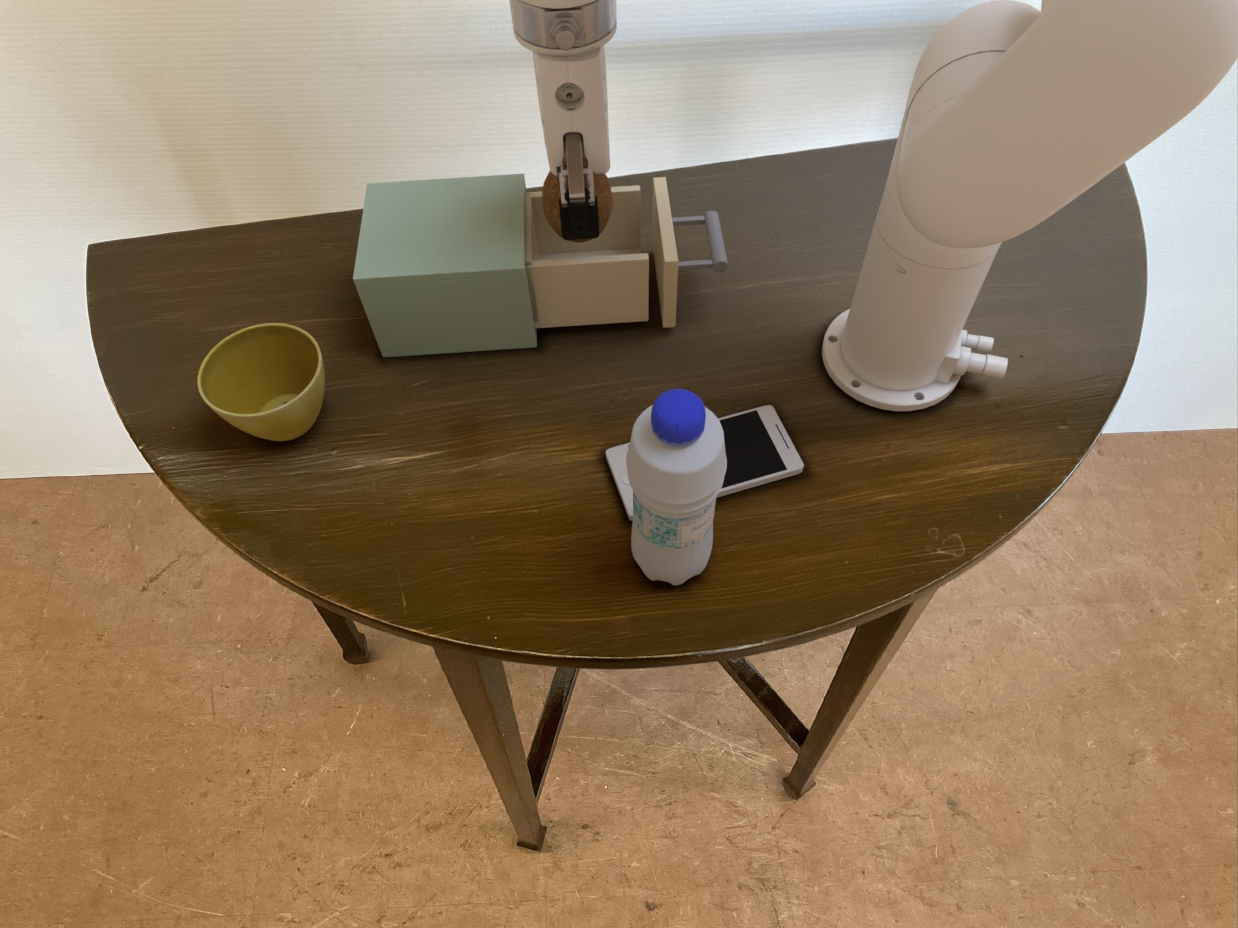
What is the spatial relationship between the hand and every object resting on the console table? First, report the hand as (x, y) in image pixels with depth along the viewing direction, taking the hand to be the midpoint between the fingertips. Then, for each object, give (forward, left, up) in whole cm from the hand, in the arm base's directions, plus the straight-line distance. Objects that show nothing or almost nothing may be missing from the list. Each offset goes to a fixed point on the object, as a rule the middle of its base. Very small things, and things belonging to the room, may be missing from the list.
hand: (579, 209), depth 76 cm
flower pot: (+21, +22, -11) cm, 32 cm away
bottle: (-15, +26, -11) cm, 32 cm away
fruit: (0, 0, -3) cm, 3 cm away
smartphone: (-16, +17, -11) cm, 25 cm away
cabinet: (+11, +4, -11) cm, 16 cm away
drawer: (-4, -1, -10) cm, 11 cm away
